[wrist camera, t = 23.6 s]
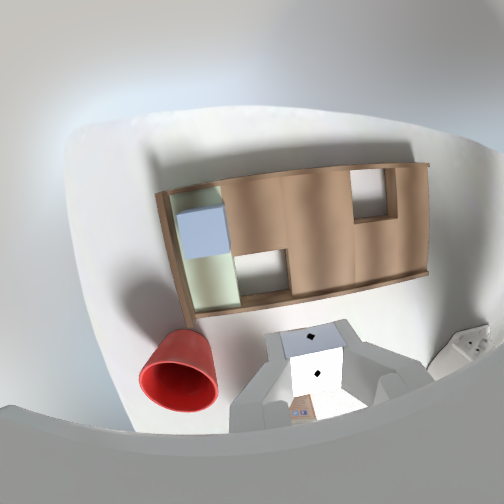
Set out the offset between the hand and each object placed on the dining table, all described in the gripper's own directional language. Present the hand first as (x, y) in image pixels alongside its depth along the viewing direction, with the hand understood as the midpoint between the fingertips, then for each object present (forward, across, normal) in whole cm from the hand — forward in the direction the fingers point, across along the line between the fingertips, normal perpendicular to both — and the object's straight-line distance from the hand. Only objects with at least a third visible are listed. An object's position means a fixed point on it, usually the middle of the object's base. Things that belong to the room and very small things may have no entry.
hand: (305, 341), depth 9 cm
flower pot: (+27, +14, +19) cm, 36 cm away
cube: (+24, +6, 0) cm, 25 cm away
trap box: (+27, -7, +3) cm, 28 cm away
